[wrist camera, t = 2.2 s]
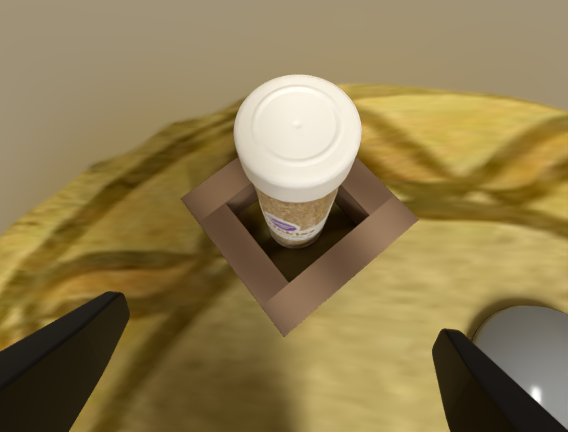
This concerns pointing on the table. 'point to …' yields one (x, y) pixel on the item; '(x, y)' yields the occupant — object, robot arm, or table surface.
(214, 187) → the walnut caddy
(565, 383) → the slate coaster
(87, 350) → the robot arm
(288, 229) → the sprinkles bottle
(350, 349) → the table surface
